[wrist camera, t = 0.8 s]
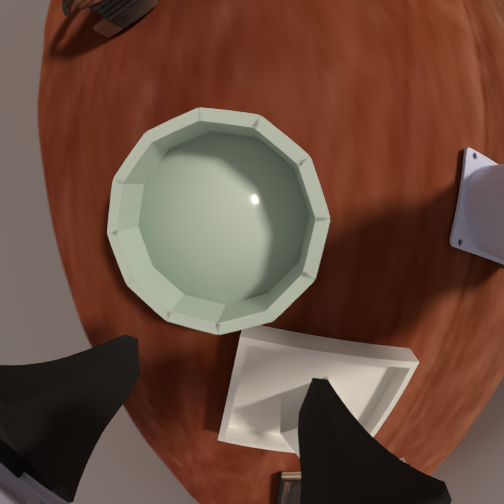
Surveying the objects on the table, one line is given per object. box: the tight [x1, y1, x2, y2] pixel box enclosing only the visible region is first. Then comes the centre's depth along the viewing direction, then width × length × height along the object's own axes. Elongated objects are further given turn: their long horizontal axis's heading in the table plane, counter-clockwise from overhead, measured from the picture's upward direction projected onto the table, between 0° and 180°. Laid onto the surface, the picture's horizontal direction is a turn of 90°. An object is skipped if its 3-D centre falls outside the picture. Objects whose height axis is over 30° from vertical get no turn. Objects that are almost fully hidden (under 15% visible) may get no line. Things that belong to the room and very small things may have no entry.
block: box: [280, 376, 332, 458], centre depth 18 cm, size 4×4×5 cm
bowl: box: [107, 108, 330, 335], centre depth 17 cm, size 13×13×4 cm
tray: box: [218, 325, 419, 453], centre depth 20 cm, size 14×12×2 cm
